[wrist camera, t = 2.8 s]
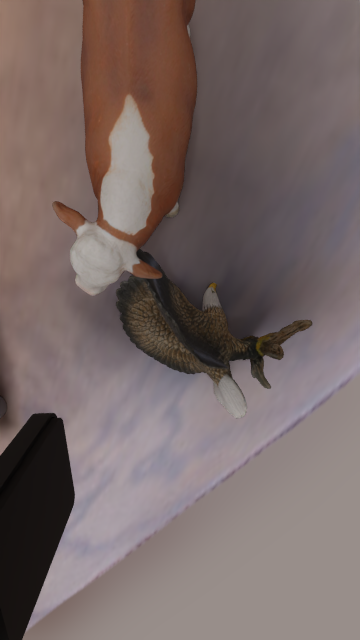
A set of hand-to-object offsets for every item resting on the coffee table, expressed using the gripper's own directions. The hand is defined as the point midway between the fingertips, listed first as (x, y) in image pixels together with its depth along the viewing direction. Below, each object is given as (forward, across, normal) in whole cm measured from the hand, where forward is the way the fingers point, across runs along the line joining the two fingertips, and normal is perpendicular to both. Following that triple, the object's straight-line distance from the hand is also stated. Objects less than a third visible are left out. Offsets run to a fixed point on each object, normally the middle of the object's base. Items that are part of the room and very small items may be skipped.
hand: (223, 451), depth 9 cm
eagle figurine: (+12, 0, -1) cm, 12 cm away
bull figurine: (+11, +3, -10) cm, 15 cm away
